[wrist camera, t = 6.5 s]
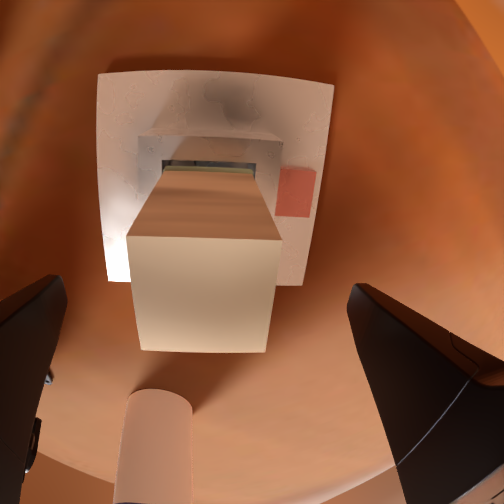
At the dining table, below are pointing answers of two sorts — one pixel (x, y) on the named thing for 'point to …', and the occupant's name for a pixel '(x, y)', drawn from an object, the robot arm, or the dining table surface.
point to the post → (204, 262)
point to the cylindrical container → (155, 450)
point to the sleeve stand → (212, 147)
